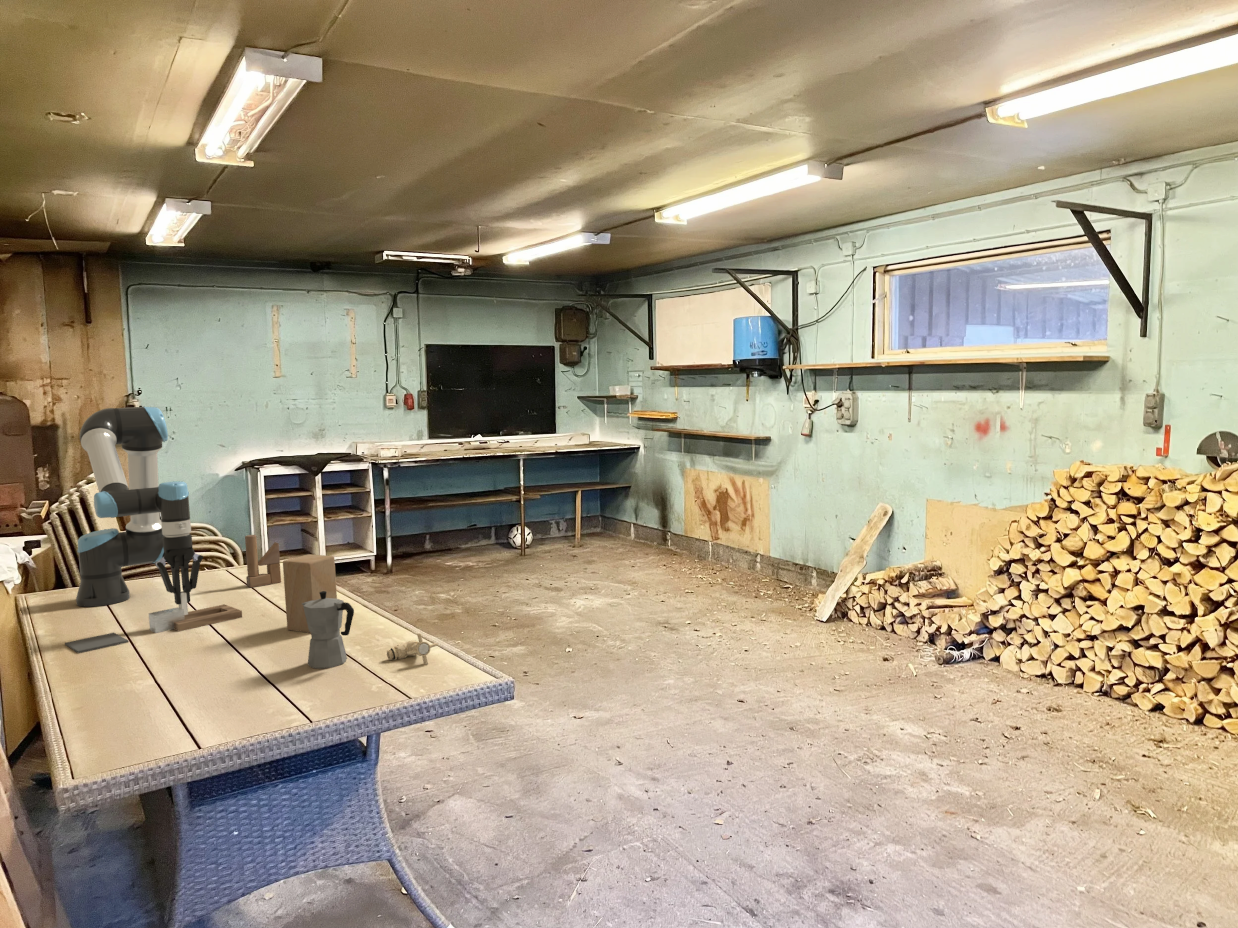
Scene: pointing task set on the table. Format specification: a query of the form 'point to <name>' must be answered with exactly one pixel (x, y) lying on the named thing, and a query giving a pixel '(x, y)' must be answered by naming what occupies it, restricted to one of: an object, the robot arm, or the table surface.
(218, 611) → the slot board
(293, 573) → the wooden block
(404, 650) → the valve
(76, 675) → the table surface
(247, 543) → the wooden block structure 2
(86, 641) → the rubber mat
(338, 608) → the coffeepot
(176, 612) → the aluminium block
